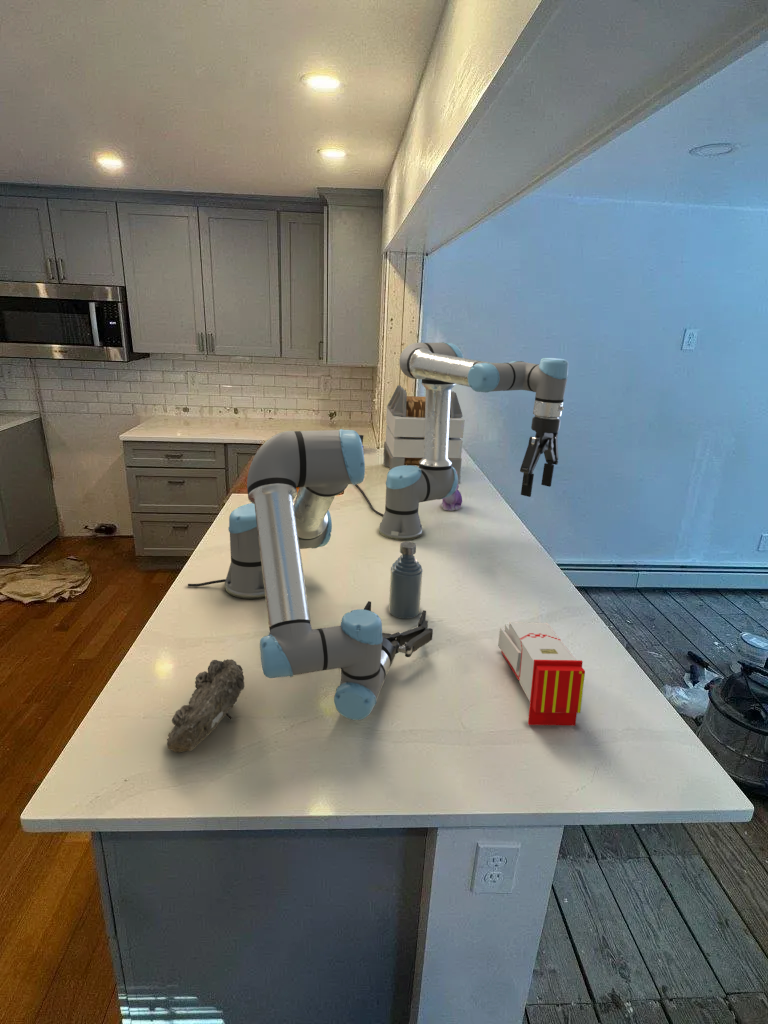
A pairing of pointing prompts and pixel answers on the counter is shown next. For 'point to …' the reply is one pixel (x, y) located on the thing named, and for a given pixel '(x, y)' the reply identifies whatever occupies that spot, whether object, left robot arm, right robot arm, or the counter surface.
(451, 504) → the figurine
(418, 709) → the counter surface
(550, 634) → the toy
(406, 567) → the bottle
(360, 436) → the figurine character
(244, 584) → the left robot arm
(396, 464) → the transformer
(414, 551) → the cap
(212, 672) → the fossil
